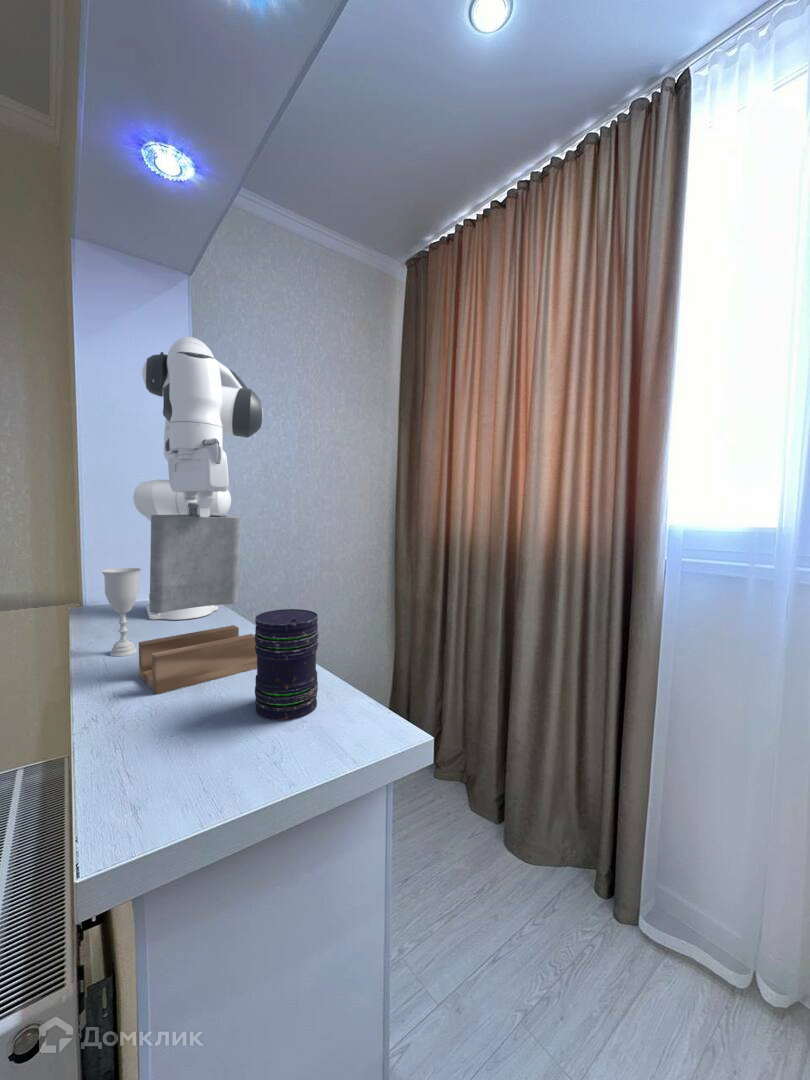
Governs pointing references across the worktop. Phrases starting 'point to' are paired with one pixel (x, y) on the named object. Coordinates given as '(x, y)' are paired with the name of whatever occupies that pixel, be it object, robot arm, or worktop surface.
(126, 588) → the chalice
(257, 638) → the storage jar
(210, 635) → the u rest
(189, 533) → the hip flask
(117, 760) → the worktop surface
